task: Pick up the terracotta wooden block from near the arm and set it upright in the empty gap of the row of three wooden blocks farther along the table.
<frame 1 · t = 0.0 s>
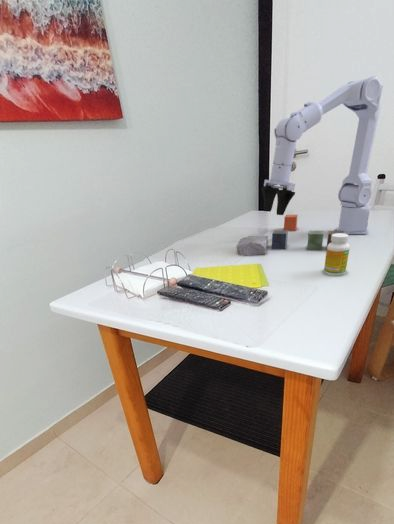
hand: (273, 213, 109), 11 cm above the table, tool pointing down, fingers open, 7 cm apart
supplement bottle: (334, 273, 89), on the table
stone block: (251, 250, 112), on the table
terracotta block: (290, 229, 131), on the table
block row: (296, 247, 110), on the table
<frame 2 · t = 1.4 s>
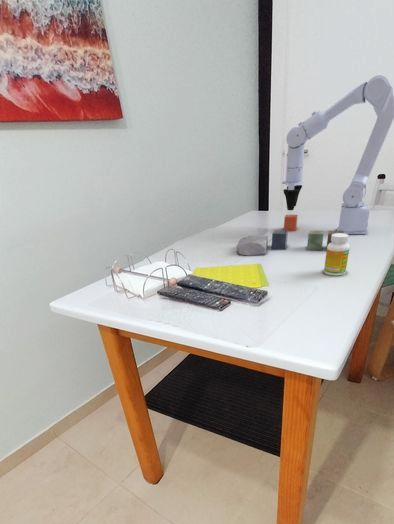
hand: (291, 208, 127), 8 cm above the table, tool pointing down, fingers open, 7 cm apart
nothing on the table moved.
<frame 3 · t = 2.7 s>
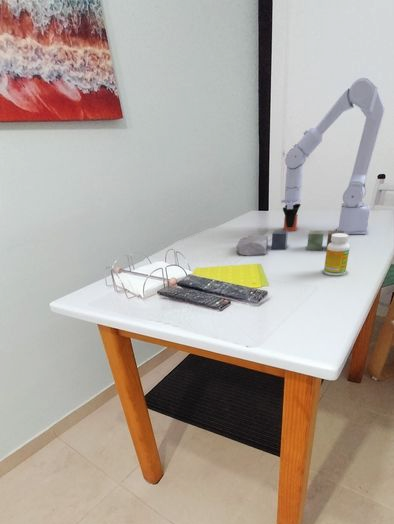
hand: (290, 225, 131), 1 cm above the table, tool pointing down, fingers closed on terracotta block, 4 cm apart
terracotta block: (290, 229, 131), on the table, touching gripper
everything else where it was.
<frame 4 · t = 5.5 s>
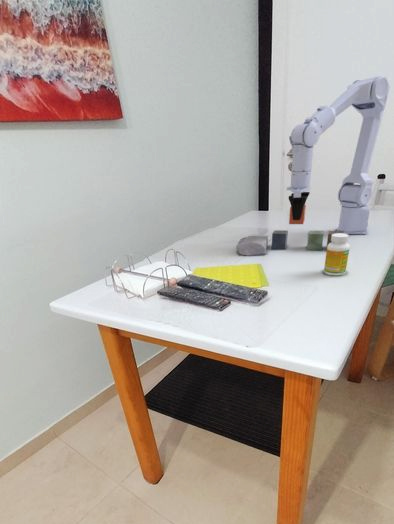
hand: (297, 218, 109), 8 cm above the table, tool pointing down, fingers closed on terracotta block, 4 cm apart
terracotta block: (296, 222, 110), point 7 cm above the table, touching gripper
everything else where it was.
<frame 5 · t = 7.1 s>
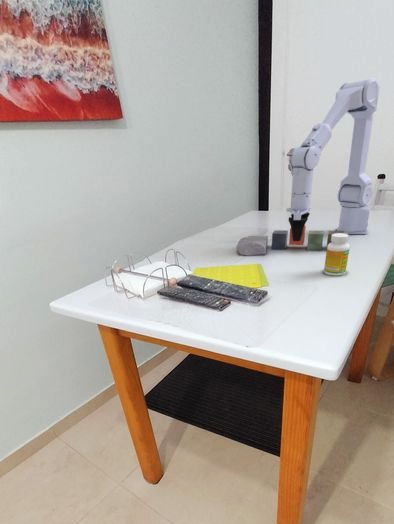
hand: (297, 238, 109), 3 cm above the table, tool pointing down, fingers closed on terracotta block, 4 cm apart
terracotta block: (296, 243, 109), point 2 cm above the table, touching gripper
everything else where it was.
when the fingers open (1 cm above the table, at t = 8.1 s): terracotta block stays where it is, on the table.
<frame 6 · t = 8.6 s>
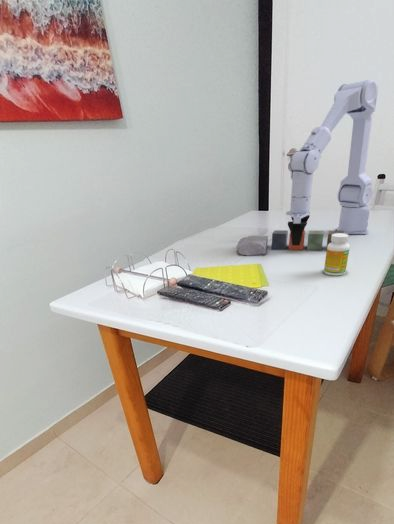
hand: (297, 241, 109), 2 cm above the table, tool pointing down, fingers open, 7 cm apart
terracotta block: (296, 247, 110), on the table
everything else where it was.
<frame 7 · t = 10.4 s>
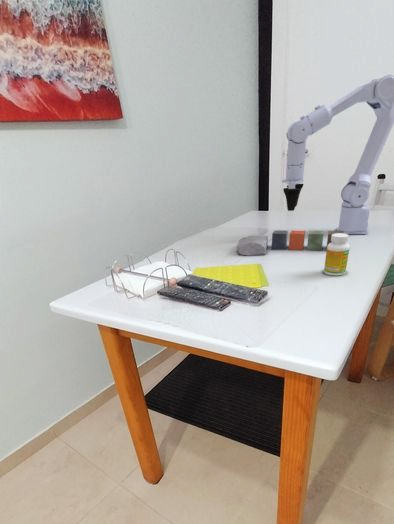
hand: (292, 208, 119), 9 cm above the table, tool pointing down, fingers open, 7 cm apart
nothing on the table moved.
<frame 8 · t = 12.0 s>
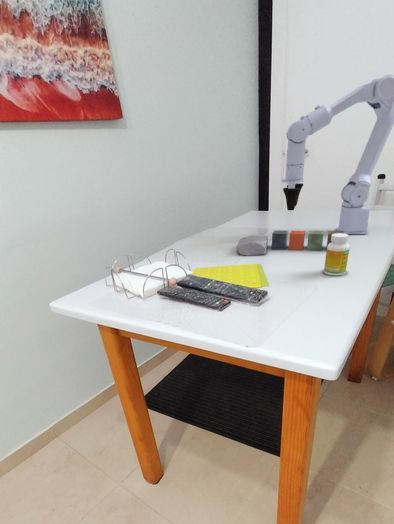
hand: (292, 208, 119), 9 cm above the table, tool pointing down, fingers open, 7 cm apart
nothing on the table moved.
at the end: terracotta block 0.1 cm off-centre on the block row, point 0.0 cm above the block row's base; terracotta block tilted 0°; the gripper is holding nothing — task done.
